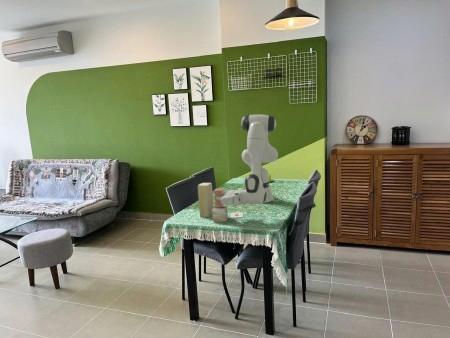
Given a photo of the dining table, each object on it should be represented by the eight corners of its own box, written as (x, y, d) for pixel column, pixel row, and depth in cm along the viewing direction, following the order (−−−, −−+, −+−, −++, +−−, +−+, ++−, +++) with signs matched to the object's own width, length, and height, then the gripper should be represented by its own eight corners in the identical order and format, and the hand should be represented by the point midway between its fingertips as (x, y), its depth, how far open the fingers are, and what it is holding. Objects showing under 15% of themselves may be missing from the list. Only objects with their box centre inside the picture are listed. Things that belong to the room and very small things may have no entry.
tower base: (215, 217, 216) (214, 205, 215) (227, 217, 215) (227, 205, 213) (213, 221, 208) (212, 209, 207) (225, 221, 207) (225, 209, 205)
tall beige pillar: (204, 212, 227) (201, 182, 223) (214, 213, 224) (212, 182, 220) (198, 216, 220) (196, 185, 216) (209, 217, 217) (206, 185, 213)
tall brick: (216, 204, 212) (215, 188, 211) (223, 204, 212) (222, 188, 210) (215, 206, 208) (214, 190, 206) (222, 206, 207) (221, 190, 205)
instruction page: (230, 212, 224) (230, 212, 224) (242, 212, 223) (242, 211, 223) (230, 217, 214) (230, 217, 214) (243, 217, 214) (243, 216, 214)
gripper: (242, 187, 215) (221, 187, 218) (235, 196, 195) (212, 196, 199) (243, 197, 216) (222, 196, 219) (236, 206, 196) (213, 206, 200)
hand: (217, 196), depth 209 cm, fingers closed on tall brick, 5 cm apart
